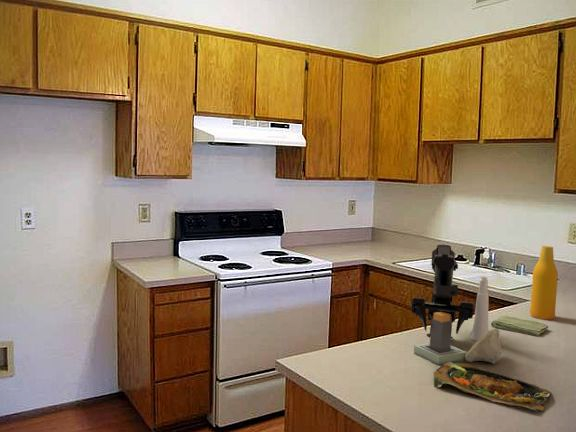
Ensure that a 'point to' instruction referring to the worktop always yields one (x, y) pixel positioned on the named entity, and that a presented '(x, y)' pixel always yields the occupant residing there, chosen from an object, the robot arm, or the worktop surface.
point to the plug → (441, 332)
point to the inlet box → (439, 354)
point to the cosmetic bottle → (481, 311)
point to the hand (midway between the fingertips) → (441, 331)
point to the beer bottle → (544, 286)
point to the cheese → (486, 348)
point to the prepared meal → (491, 386)
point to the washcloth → (519, 325)
